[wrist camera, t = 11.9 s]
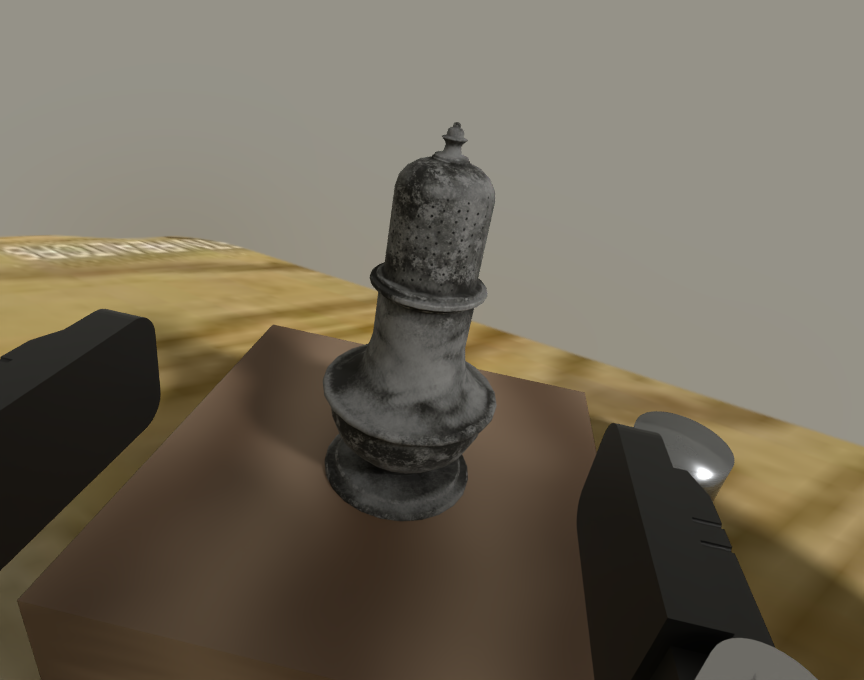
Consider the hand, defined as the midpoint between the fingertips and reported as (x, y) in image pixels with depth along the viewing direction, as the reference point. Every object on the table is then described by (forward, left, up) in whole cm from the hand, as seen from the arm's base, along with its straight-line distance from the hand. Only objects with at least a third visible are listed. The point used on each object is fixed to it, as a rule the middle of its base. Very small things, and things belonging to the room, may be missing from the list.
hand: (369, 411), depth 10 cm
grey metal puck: (-14, -17, -13) cm, 25 cm away
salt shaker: (0, -8, -8) cm, 11 cm away
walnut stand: (0, -8, -13) cm, 15 cm away
